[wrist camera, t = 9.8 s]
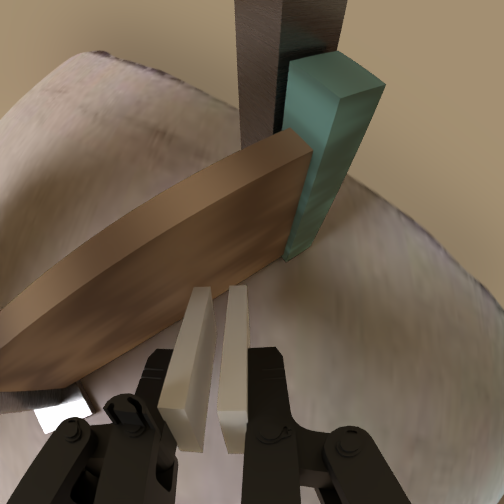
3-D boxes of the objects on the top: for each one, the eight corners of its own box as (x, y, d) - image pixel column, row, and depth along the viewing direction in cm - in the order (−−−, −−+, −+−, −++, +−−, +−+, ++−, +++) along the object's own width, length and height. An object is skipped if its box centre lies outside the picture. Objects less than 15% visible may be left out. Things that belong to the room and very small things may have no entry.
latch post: (263, 239, 19) (283, -17, 4) (244, 212, 20) (233, -30, 5) (292, 222, 20) (350, -16, 5) (272, 197, 20) (296, -33, 5)
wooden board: (71, 392, 15) (-81, 395, 2) (59, 367, 15) (-91, 349, 3) (310, 246, 18) (386, 84, 6) (292, 223, 19) (338, 50, 7)
